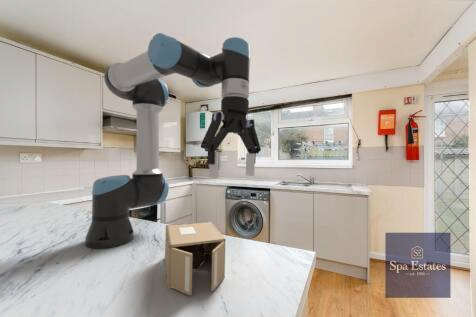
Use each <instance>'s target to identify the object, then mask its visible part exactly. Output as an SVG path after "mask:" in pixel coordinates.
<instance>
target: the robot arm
mask: <svg viewBox="0 0 476 317" xmlns="http://www.w3.org/2000/svg"><path fill="white" fill-rule="evenodd" d="M221 51H222V52H220V53H218V54H216V55H213V56H209V55H207V54H206V53H203V52H201V51H199V50H196V49H195V48H194V47H193V48H192V47H191V46H189V45H187V44H185V43H183V42H181V41H179V40H177V38H175V37H172V36H169V35H167V34H164V33H160V32H159V33H155V34H154V35H153V36H152V39H150V40H149V43H148V47H147V51H145V52H142V53H140V54H138V55H137V56H134V57H132V58H131V59H129V60H126V61H124V62H115V63H113V64H111V65H109V66H108V67H107V69H105V71H104V76H103V78H104V83H105V86H106V87H107V89H108V90H109V91H110V92H111V93H112V94H113V95H114V96H116V97H118V98H120V99H123V100H127V101H131V102H132V108H133V109H134V110H135V111H136V169H135V170H134V172H133V173H132V176H130V175H129V174H120V175H108V176H104V177H101V178H97V179H95V180H94V182H93V184H92V192H91V196H92V200H91V201H92V203H91V211H92V212H91V222H90V225H89V228H88V230H87V233H86V236H85V239H84V241H85V242H84V244H85V246H86V247H88V248H91V249H107V248H108V249H109V248H115V247H119V246H121V245H124V244H127V243H129V242H131V241H132V240H133V239H134V233H135V232H134V229H133V226H132V222H131V220H130V209H137V208H142V207H149V206H150V207H153V206H155V205H160V204H162V203H164V202H165V200H166V199H167V197H168V194H169V189H170V188H169V187H170V186H169V182H168V179H167V178H166V177H164V176H163V171H161V170H160V112H162V111H163V110H164V109H163V108H164V107H165V106H166V105H167V103H168V100H169V90H168V89H169V88H168V86H167V83H165V81H163V80H162V78H163V77H167V76H170V75H174V74H178V75H181V76H184V77H186V78H189V79H191V80H192V82H193V83H194V84H195V85H196V86H197V87H198V88H202V89H203V88H209V87H213V86H215V85H218V84H219V85H220V84H221V90H220V91H221V93H220V96H221V98H222V99H221V101H220V102H221V104H220V106H221V107H220V111H217V112H214V113H212V115H211V122H210V124H209V126H208V128H207V131H206V133H205V135H204V137H203V139H202V142H201V143H200V148H201V149H204V150H205V152H207V165H209V168H208V169H209V170H208V173H209V174H208V177H209V178H214V179H219V164H220V162H219V159H220V157H219V153H220V152H219V151H217V150H218V148H219V147H220V146H221V144H222V142H223V141H224V140H225V139H226V137H227V135H228V134H230V133H231V134H237V136H238V137H240V139H241V141H242V144H243V145H244V147H245V149H246V151H247V153H246V154H245V155H246V156H245V176H247V177H248V176H249V177H255V167H256V166H255V164H256V158H257V157H256V156H257V154H259V152H261V151H262V148H261V144H260V141H259V137H258V134H257V131H256V126H255V119H247V115H248V113H249V111H250V109H249V108H250V107H249V105H250V104H249V103H250V102H249V97H250V66H251V55H250V44H249V42H248V41H247V40H245V39H244V38H242V37H236V36H235V37H229V38H227V39H225V40H224V42H223V43H222V48H221ZM160 78H161V79H160ZM221 123H222V125H221ZM220 126H221V127H220Z"/></svg>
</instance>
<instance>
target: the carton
mask: <svg viewBox="0 0 476 317" xmlns="http://www.w3.org/2000/svg"><path fill="white" fill-rule="evenodd" d="M222 242H224V278H225V277H226V276H225V275H226V274H225V273H226V272H225V271H226V269H225V267H226V238H225V236H224V235H223V234H222V233H221V232H220V230H219V229H218V228H217V227H216V226H215V225H214V224H213V222H212V221H203V222H201V221H200V222H191V223H178V224H167V225H165V242H164V243H165V244H164V245H165V246H164V249H165V250H164V262H165V270H166V271H165V272H166V284H167V288H171V287H170V282H171V248H176V249H178V247H179V246H188V245H196V244H205V249H204V250H205V251H204V255H207V254H208V255H209V256H210V259H212V251H213V250H214V249H215V248H216V247H217V246H219V245H220V244H221V243H222ZM224 278H223V279H224Z"/></svg>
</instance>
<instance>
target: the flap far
mask: <svg viewBox="0 0 476 317" xmlns="http://www.w3.org/2000/svg"><path fill="white" fill-rule="evenodd" d="M223 279H224V242H222V243H221V244H220V245H219V246H217V247H216V248H215V249H214V250H213V251H212V258H211V282H210V283H211V284H210V285H211V289H210V290H211V291H212V292H214V291H215V290H216V288H217V287H218V286H219V284H220V283H221V282H222V280H223Z"/></svg>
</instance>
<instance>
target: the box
mask: <svg viewBox="0 0 476 317" xmlns="http://www.w3.org/2000/svg"><path fill="white" fill-rule="evenodd" d="M178 249H179V250H182V251H185V252H189V253H192V254H193V257H192V271H193V270H195V271H196V270H198V269H199V268H200V267H201V266H202V264H203V263H204V262H205V254H204V251H205V250H204V249H205V244H196V245H188V246H179V247H178Z"/></svg>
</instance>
